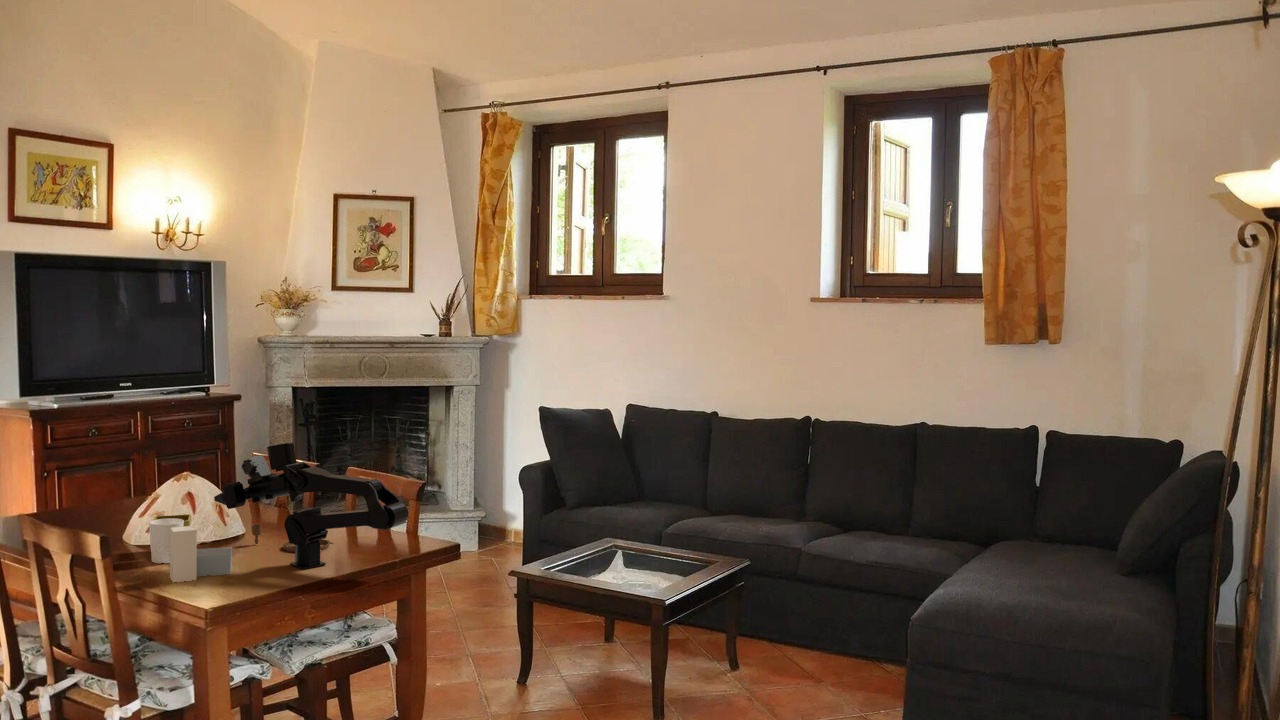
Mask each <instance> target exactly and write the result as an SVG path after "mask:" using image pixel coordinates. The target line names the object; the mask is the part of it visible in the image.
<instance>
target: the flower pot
mask: <svg viewBox="0 0 1280 720" xmlns="http://www.w3.org/2000/svg"><path fill="white" fill-rule="evenodd" d="M167 518H176V519H182V520H184V526H183V527H185V526H191V520H192V515H191V514H189V513H188V514H187V513H186V514H174V515H170V514H169V515H156V516H154V518H153V520H158V519H167ZM153 520H152V521H153Z"/></svg>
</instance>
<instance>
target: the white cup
mask: <svg viewBox="0 0 1280 720" xmlns="http://www.w3.org/2000/svg"><path fill="white" fill-rule="evenodd" d="M148 525H149V526H148V527H149V544H150V552H151V553H150V554H151V555H150V558H151V562H152V563H153V562H154V564H161V563H164V564H170V528H173V527H183V526H184V520H182V519H176V518H167V519H158V520H151V521H149V524H148Z"/></svg>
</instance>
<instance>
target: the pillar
mask: <svg viewBox="0 0 1280 720" xmlns="http://www.w3.org/2000/svg"><path fill="white" fill-rule="evenodd" d="M197 531H198V529H197V528H196V527H195V526H194V525H190V526H185V527H173V528H170V563H169V578H171V579H170V580H171V581H173V582H172V583H173V584H175V583H174V582H177V583H183V582H184V581H186V582H192V580H194V581H197V578H198V576H197V549H198V547H197V544H198V543H197V541H198V540H197V539H198V536H197V535H198V532H197ZM184 583H185V582H184Z"/></svg>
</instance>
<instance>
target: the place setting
mask: <svg viewBox="0 0 1280 720" xmlns="http://www.w3.org/2000/svg"><path fill="white" fill-rule="evenodd" d="M262 528H263V527H262V524H258V523H257V524H252V525H251V533H252V535H253V536H255V537H254V543H255V544H259V536H260V535H261V534H262ZM307 535H309V534H308V533H307ZM255 544H254V545H255ZM322 544H324V545H322ZM330 544H331V545H334V544H335V543H334V542H331V541H330V540H328V539H321V540H320V550H322V551H325V550H327V549H329V547H330ZM290 545H293V546H295V545H294V544H290V543H289V540H288V541H286V542H284V543H283V544H282V547H283V548H282V549H284V551H286V550H287V552H289V551H291V552H290V553H295V547H291V546H290ZM287 546H290V547H287ZM324 549H325V550H324Z"/></svg>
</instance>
